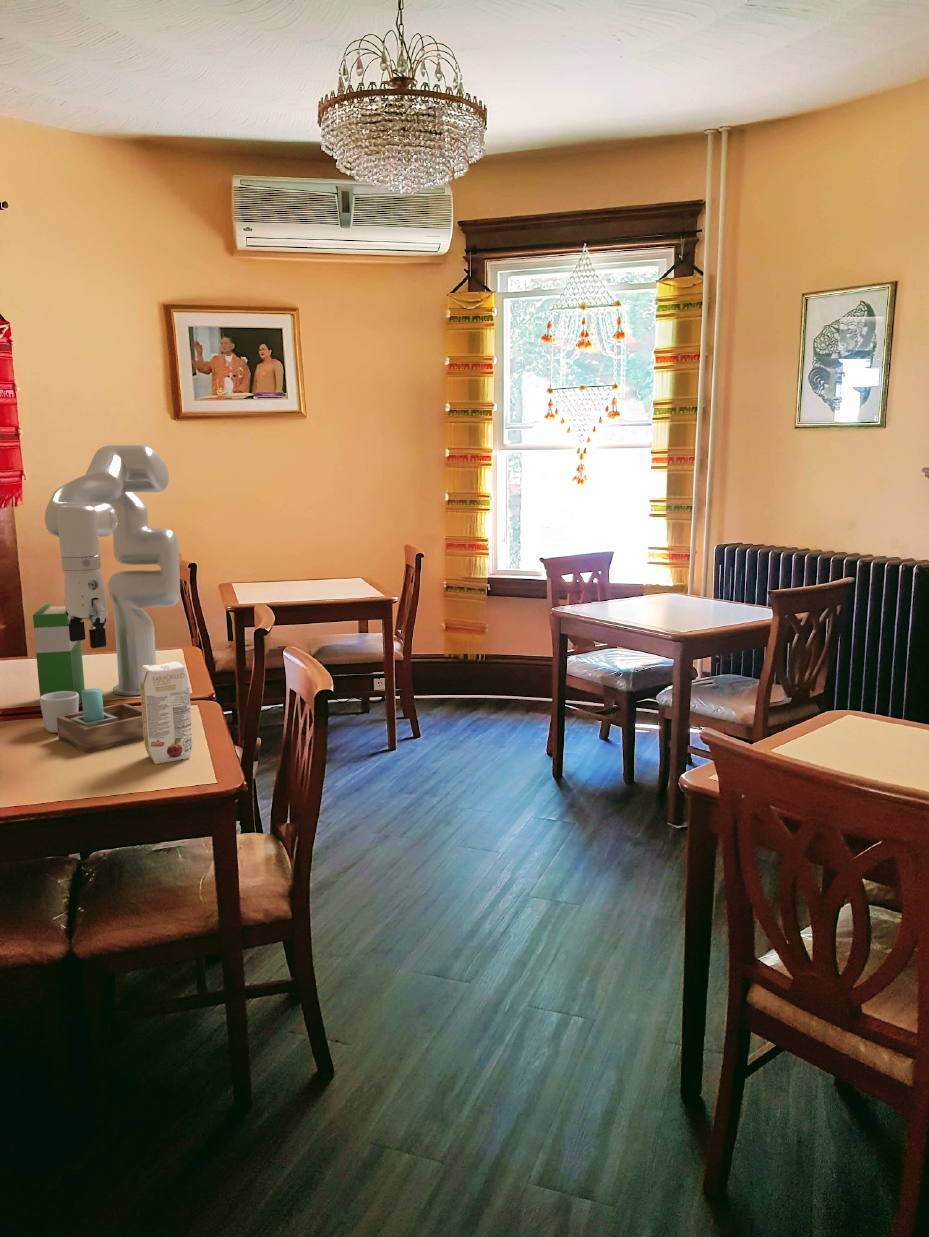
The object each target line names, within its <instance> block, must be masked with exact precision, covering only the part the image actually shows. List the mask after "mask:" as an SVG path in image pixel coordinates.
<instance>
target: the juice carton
mask: <svg viewBox="0 0 929 1237" xmlns="http://www.w3.org/2000/svg"><path fill="white" fill-rule="evenodd" d="M140 688H141V695H140V700H141V710H142V718H143V732H144V739H143V743H144V747H145V750H146V752H147V755H148V757H149V758H150V759H151V761H152V762H153V763H154V764H156V765H160V764H164V763H165V762H166V763H170V762H175V761H181V759H183V760H186V759H190V758H191V754H192V749H193V732H192V731H193V730H192V728H193V726H192V715H191V714H192V711H191V698H190V696H191V694H190V680H189V675H188V672H187V669H186V667H185V665H183V664H182V663H180V662H179V661H172V662H166V663H162V664H156V665H143V666H142V669H141V676H140Z"/></svg>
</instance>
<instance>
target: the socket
mask: <svg viewBox="0 0 929 1237" xmlns="http://www.w3.org/2000/svg"><path fill="white" fill-rule="evenodd" d="M71 720H72V721H74V722H77V723H79V724H81V725H83V726H86V727H93V726H97V725H102V724H107V723H111V722H116V721H118V718H117V717H115V716H112V715H110V714H107V713H105V712H104V719H103V720H99V721H94V722H89V723H86V722H84V718H83V716H79V717H74V718H71Z"/></svg>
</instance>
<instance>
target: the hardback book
mask: <svg viewBox="0 0 929 1237" xmlns="http://www.w3.org/2000/svg"><path fill="white" fill-rule="evenodd" d="M67 618H68V616H67V614H66V607H65V605H63V606H51V603H45V605H43V606H42V607H41V608H40V609H39V610H37V611H36V612H35V613H34V614H32V620H33V621H32V622H33V632H34V633H33V634H34V635H33V636H34V644H35V656H36V666H37V678H38V689H39V698H40V697H41V696H42V695H45V694H48V693H52V692H60V691H73V692H77V693H78V694H79V704H80V705H81V703H82V693H81V691H83V690H85V688H86V687H85V675H84V664H83V651H82V640H80V641H74V642H72V641H70V637H69V626H68V621H67ZM80 702H81V703H80ZM40 711H41V714H42V710H41V709H40Z"/></svg>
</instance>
